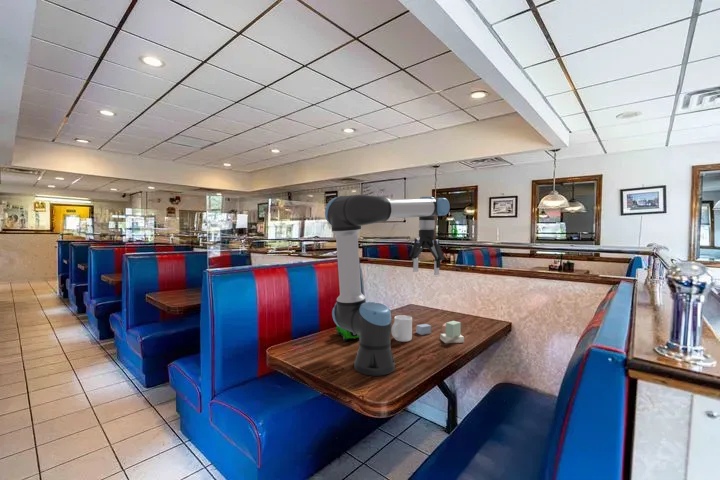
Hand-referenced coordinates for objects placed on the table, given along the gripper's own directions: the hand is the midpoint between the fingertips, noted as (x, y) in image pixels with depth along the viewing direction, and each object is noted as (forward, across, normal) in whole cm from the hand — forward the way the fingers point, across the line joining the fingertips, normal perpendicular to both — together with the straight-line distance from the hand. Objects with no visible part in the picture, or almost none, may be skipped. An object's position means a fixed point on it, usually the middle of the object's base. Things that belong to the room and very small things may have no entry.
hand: (425, 273), depth 167 cm
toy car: (+31, +18, +32) cm, 48 cm away
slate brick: (+31, +3, -3) cm, 31 cm away
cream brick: (+31, -12, -5) cm, 34 cm away
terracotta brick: (+31, -3, -14) cm, 34 cm away
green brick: (+28, -13, -6) cm, 31 cm away
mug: (+31, +2, +14) cm, 34 cm away
